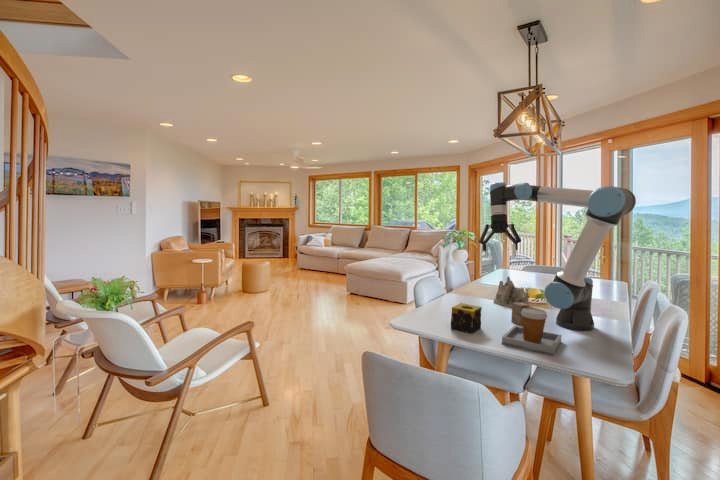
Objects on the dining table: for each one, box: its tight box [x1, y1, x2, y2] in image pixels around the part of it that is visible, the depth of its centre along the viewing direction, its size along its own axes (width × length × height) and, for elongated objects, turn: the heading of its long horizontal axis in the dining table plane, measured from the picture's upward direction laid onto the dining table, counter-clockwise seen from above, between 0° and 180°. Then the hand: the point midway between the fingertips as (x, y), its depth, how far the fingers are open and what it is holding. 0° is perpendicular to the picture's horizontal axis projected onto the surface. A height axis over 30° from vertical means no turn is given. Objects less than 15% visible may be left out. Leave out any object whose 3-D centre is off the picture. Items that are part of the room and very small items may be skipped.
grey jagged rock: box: [493, 276, 530, 307], centre depth 206 cm, size 16×16×15 cm
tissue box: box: [450, 302, 483, 335], centre depth 161 cm, size 10×10×10 cm
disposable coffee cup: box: [521, 307, 548, 343], centre depth 146 cm, size 10×10×12 cm
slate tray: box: [501, 325, 562, 357], centre depth 146 cm, size 18×18×3 cm
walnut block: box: [510, 302, 530, 326], centre depth 171 cm, size 5×5×9 cm
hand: (500, 257), depth 182 cm, fingers open, 13 cm apart
